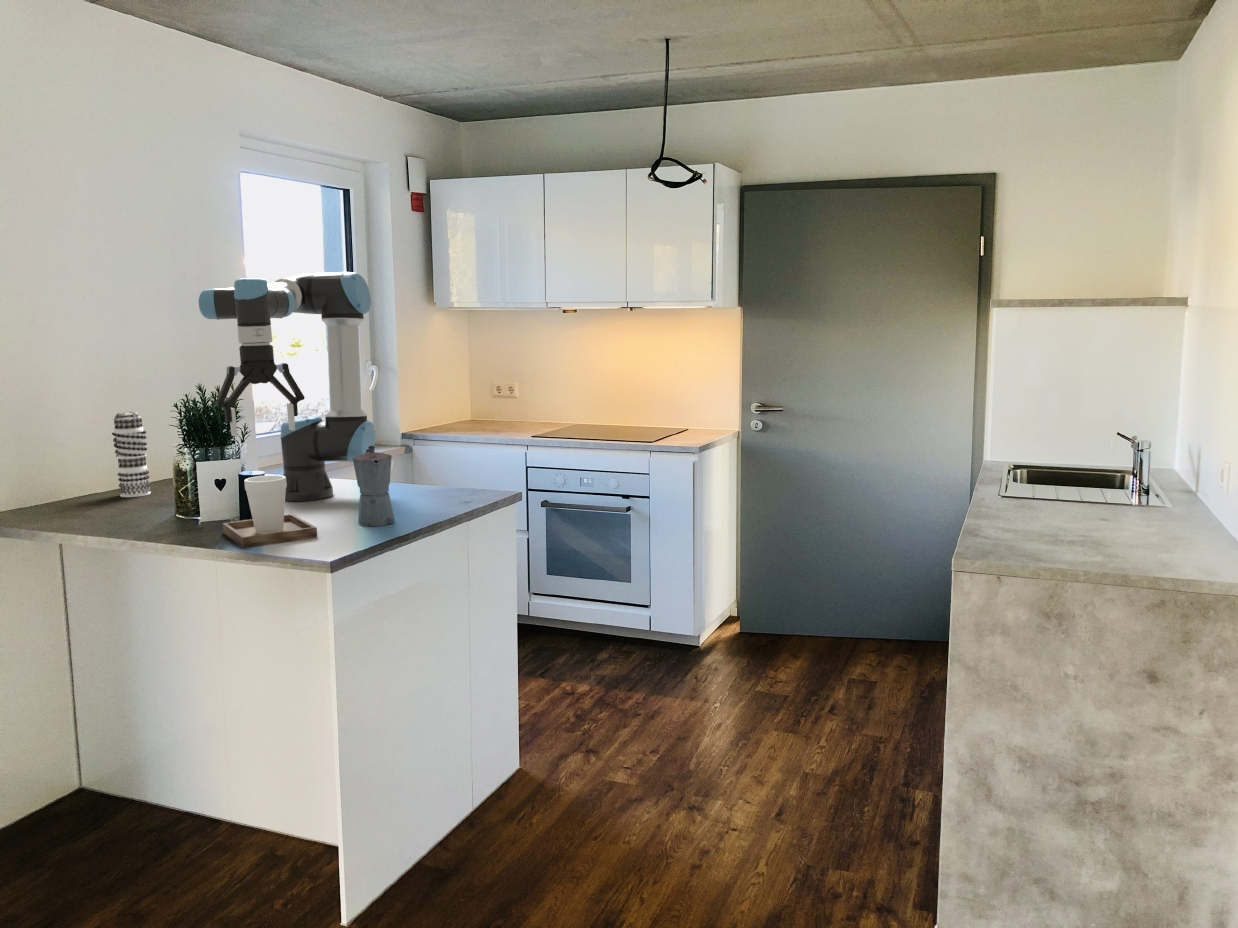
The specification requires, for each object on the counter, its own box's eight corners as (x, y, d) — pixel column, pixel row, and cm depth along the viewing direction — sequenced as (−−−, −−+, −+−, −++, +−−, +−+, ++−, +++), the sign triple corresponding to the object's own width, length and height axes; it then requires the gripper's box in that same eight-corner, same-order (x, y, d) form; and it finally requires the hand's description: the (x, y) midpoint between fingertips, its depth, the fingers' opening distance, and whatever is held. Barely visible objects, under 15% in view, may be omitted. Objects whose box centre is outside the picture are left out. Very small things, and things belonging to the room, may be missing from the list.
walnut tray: (293, 523, 246) (292, 513, 245) (317, 537, 229) (316, 527, 229) (223, 533, 236) (222, 523, 236) (243, 548, 220) (242, 537, 219)
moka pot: (363, 530, 236) (358, 450, 232) (349, 519, 249) (344, 443, 246) (401, 526, 240) (397, 447, 237) (386, 515, 253) (381, 440, 250)
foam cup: (275, 536, 227) (271, 482, 225) (241, 535, 229) (236, 481, 227) (297, 527, 236) (293, 475, 234) (263, 526, 238) (259, 474, 236)
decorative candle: (148, 496, 288) (140, 413, 284) (114, 498, 286) (106, 415, 282) (155, 491, 297) (147, 410, 293) (123, 492, 295) (114, 412, 291)
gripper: (203, 347, 218) (212, 439, 221) (313, 342, 232) (319, 429, 235) (196, 346, 224) (205, 436, 227) (303, 341, 238) (310, 426, 241)
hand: (263, 432), depth 231 cm, fingers open, 13 cm apart
